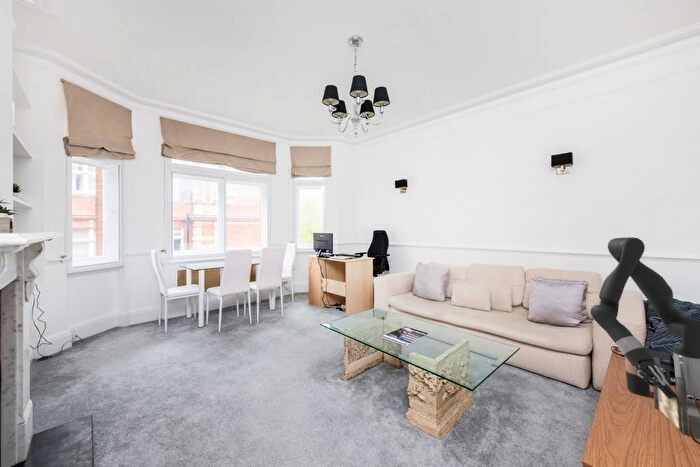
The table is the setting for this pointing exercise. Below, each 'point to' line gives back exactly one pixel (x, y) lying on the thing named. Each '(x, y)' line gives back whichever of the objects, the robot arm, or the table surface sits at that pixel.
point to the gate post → (656, 387)
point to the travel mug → (635, 380)
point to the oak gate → (676, 406)
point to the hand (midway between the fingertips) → (673, 397)
